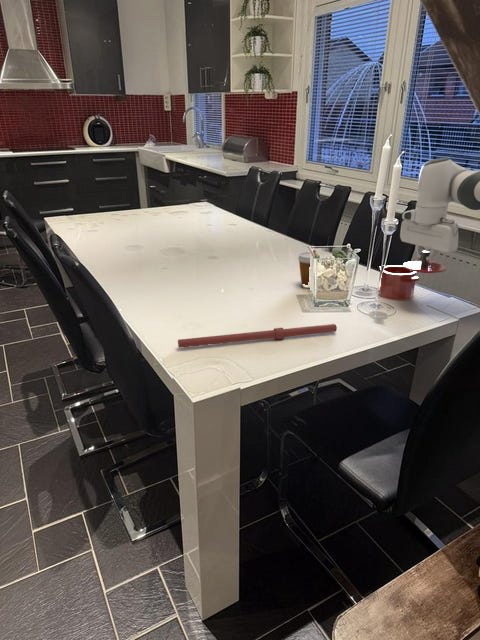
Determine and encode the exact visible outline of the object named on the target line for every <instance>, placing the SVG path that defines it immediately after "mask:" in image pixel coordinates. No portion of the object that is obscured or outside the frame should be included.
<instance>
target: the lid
mask: <svg viewBox="0 0 480 640" xmlns="http://www.w3.org/2000/svg"><path fill="white" fill-rule="evenodd" d="M430 254H431V252H430V250H423V251H422V258H421V260H418V261H417V260H415V261H407V262H404V263H403V264H402V266H403V267H404V268H405V269H408V270H411V271H415V272H416V273H421V274H438V273H444V272H446V271H447V266H445V265H443V264H441V263H437V262H433V263H428V262H426V260H427V259H426V258H427V257H428V256H429V255H430Z"/></svg>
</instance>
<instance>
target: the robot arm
mask: <svg viewBox="0 0 480 640" xmlns="http://www.w3.org/2000/svg"><path fill="white" fill-rule="evenodd" d="M417 183H418V184H417V201H416V204H415V209H410V210H407V211H403V212H402V214H401V218H402V221H401V225H400V233H399V238H400V240H401V242H403V243H406V244H411V245H415V248H414V249H415V251H416V254H417V256H416V260H418V261H421V258H422V251H424V250H423V249H424V248H428V249H429V251H430V252H431V253H430V255H429V256H428V257H427V258H426V259H427V260H426V262H428V263H435V258H436V256H437V255H438V254H439V252H443V253H455V252H456V251H457V250H458V249H459V224H458V223H457V221H456V220H454V219H449V218H447V215H448V208H449V203H455V204H458V205H461V206H464V207H465V208H467V209H468V210H471V211H480V169H479V170H473V169H468V168H466V167H463V166H461V165H459V164H458V163H456V162H454V161H453V160H452V158H448V157H440V158H439V157H438V158H434V159H429V160H428V161H426V162H424V163H423V164H422V166H421V169H420V172H419V176H418V182H417Z"/></svg>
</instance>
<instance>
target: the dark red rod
mask: <svg viewBox="0 0 480 640" xmlns="http://www.w3.org/2000/svg"><path fill="white" fill-rule="evenodd" d="M337 329H338V326H337V325H336V324H335V323H329V324H320V325H310V326H300V327H299V326H298V327H289V328H283V327H274V328H273V329H272V330H260V331H251V332H250V331H249V332H240V333H230V334H229V333H228V334H221V335H212V336H211V335H209V336H201V337H191V338H181V339H178V340H177V346H178V348H179V349H181V348H180V347H184V348H190V347H189V346H193V347H200V346H199V345H203V346H209V345H208V344H212V345H220V343H222V344H231V343H240V342H241V343H242V342H250V341H258V340H259V341H260V340H269V339H274V340H284V339H285V338H288V337H297V336H307V335H317V334H326V333H336V332H337ZM230 342H231V343H230Z"/></svg>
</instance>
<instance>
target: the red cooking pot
mask: <svg viewBox="0 0 480 640" xmlns="http://www.w3.org/2000/svg"><path fill="white" fill-rule="evenodd" d="M384 266H385V267H384V271H383V273H382V278H381V287H380V295H379V297H381V298H383V299H386V300H391V301H407V300H411V299H413V298H414V296H415V295H414V294H415V286H416V282H419V280H420V277H418V276H417V272H415V271H411V270H408V269H405V268H404V267H403V265H384ZM378 270H379V274H380V273H381V266H378Z"/></svg>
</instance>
